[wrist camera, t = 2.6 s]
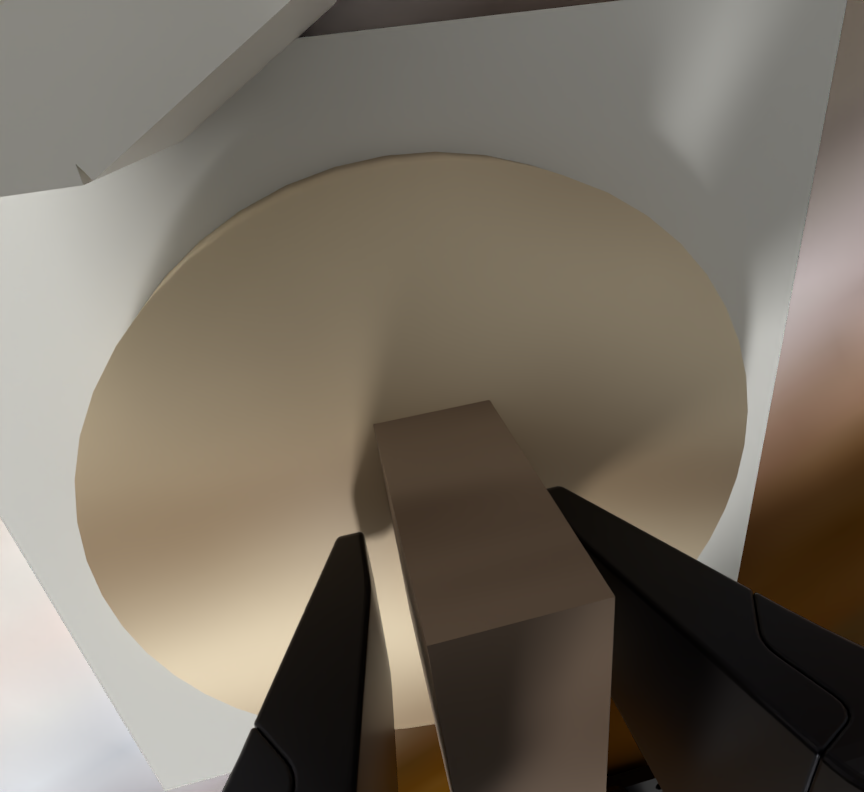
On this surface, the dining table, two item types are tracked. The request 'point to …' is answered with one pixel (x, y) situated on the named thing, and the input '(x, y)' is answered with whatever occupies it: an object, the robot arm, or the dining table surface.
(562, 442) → the lid
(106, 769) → the dining table surface
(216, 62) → the bowl
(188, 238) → the mat
